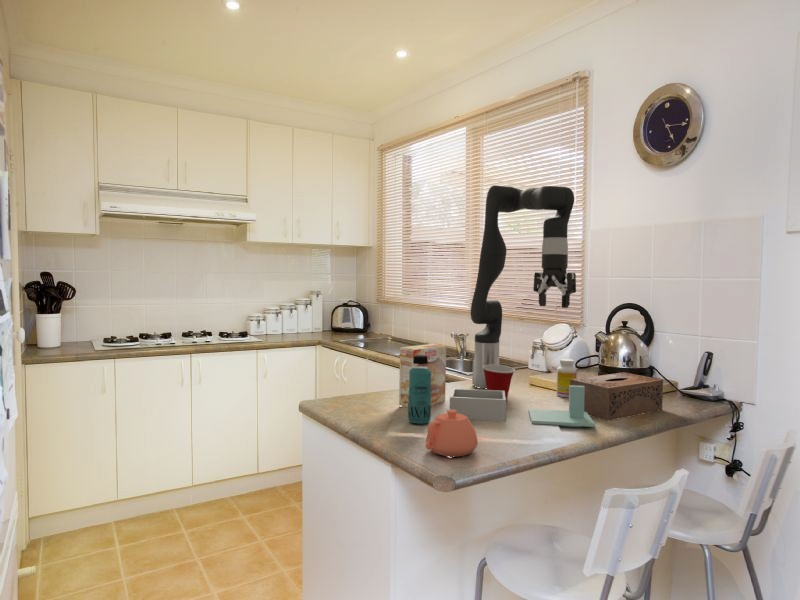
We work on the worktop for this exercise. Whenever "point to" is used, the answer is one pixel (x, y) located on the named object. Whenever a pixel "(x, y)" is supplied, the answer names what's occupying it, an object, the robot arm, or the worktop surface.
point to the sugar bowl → (451, 435)
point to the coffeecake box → (435, 364)
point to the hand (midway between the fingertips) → (553, 306)
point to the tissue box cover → (620, 395)
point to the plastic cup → (498, 377)
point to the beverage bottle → (419, 392)
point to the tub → (479, 404)
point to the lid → (565, 412)
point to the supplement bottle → (565, 377)
